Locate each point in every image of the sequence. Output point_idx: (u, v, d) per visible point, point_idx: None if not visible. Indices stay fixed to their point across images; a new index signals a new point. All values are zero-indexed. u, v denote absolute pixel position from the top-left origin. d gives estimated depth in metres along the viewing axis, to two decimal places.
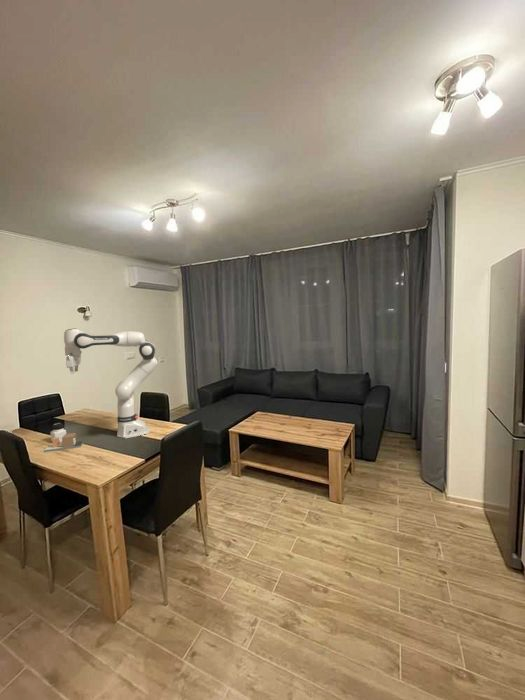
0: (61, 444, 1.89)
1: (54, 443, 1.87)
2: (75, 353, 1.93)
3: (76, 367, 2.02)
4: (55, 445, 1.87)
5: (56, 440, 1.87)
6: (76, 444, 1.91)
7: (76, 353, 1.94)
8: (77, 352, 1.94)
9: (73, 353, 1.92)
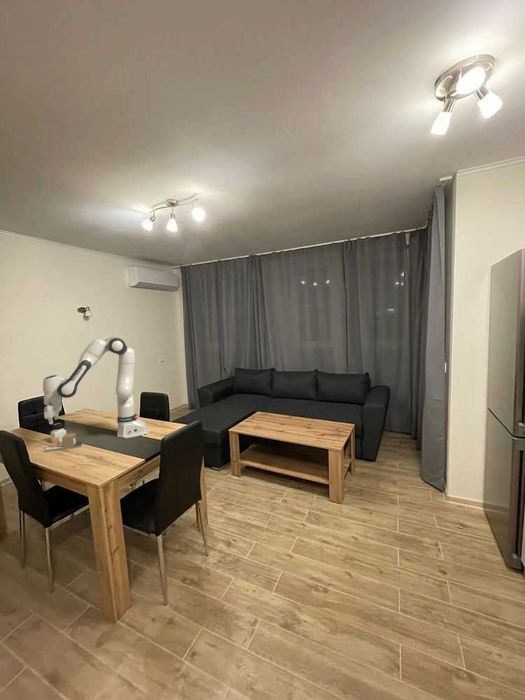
0: (61, 444, 1.89)
1: (54, 443, 1.87)
2: (54, 402, 1.83)
3: (56, 415, 1.92)
4: (55, 445, 1.87)
5: (56, 440, 1.87)
6: (76, 444, 1.91)
7: (56, 402, 1.83)
8: (57, 401, 1.84)
9: (52, 402, 1.82)
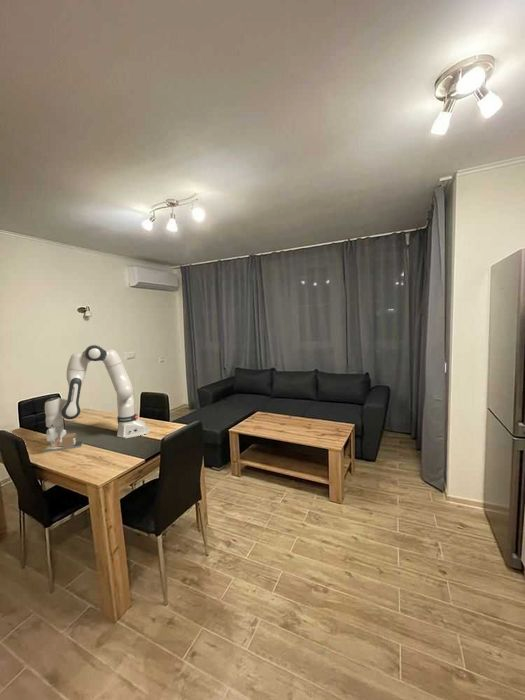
0: (61, 444, 1.89)
1: None
2: (56, 424, 1.84)
3: (58, 436, 1.93)
4: (55, 445, 1.87)
5: (56, 440, 1.87)
6: (76, 444, 1.91)
7: (57, 424, 1.85)
8: (59, 423, 1.85)
9: (54, 425, 1.84)
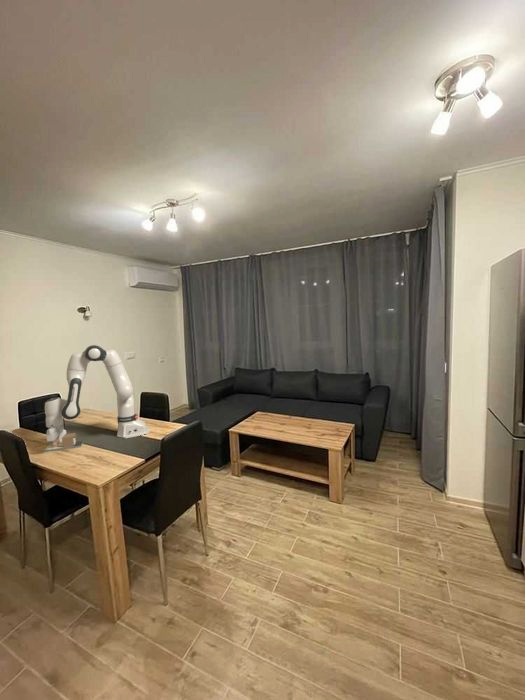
0: (61, 444, 1.89)
1: None
2: (56, 424, 1.84)
3: None
4: (55, 445, 1.87)
5: (56, 440, 1.87)
6: (76, 444, 1.91)
7: (57, 424, 1.85)
8: (59, 423, 1.85)
9: (54, 425, 1.84)
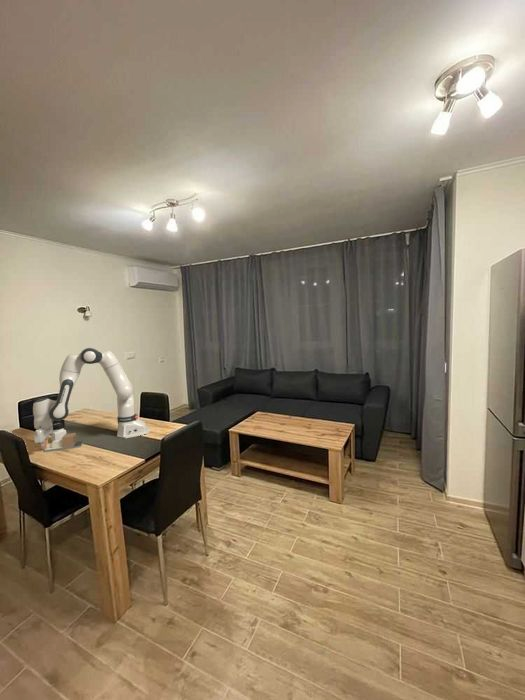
0: (50, 445, 1.86)
1: None
2: (45, 425, 1.82)
3: (46, 438, 1.89)
4: (44, 447, 1.85)
5: (45, 441, 1.85)
6: (76, 444, 1.91)
7: (46, 425, 1.83)
8: (47, 424, 1.83)
9: (42, 426, 1.81)
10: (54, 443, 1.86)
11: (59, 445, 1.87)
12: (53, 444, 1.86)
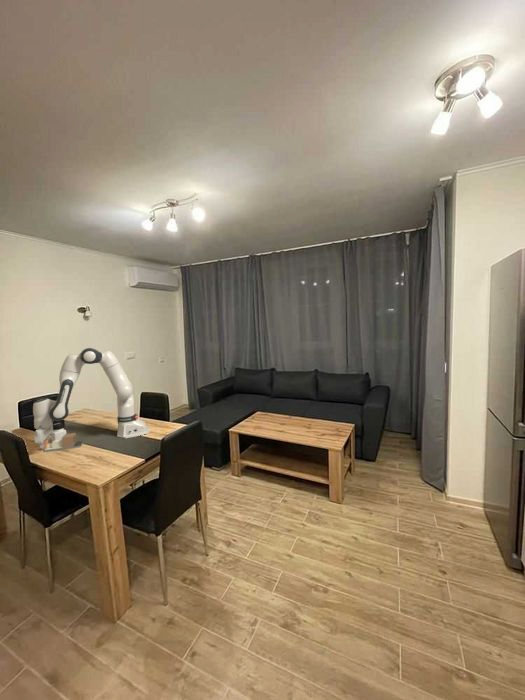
0: (50, 445, 1.86)
1: None
2: (45, 426, 1.82)
3: (47, 437, 1.91)
4: (43, 447, 1.85)
5: (45, 441, 1.85)
6: (76, 444, 1.91)
7: (46, 425, 1.83)
8: (47, 424, 1.83)
9: (43, 426, 1.81)
10: (54, 443, 1.86)
11: (59, 445, 1.87)
12: (53, 444, 1.86)
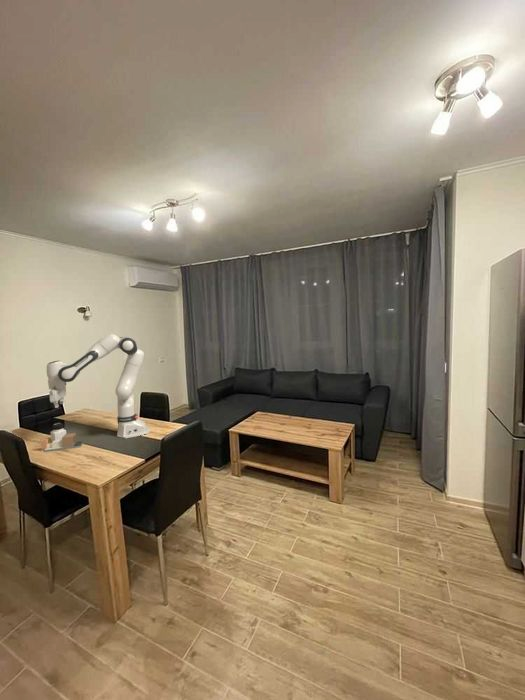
0: (50, 445, 1.86)
1: (42, 444, 1.85)
2: (59, 386, 1.88)
3: (61, 399, 1.97)
4: (43, 447, 1.85)
5: (45, 441, 1.85)
6: (76, 444, 1.91)
7: (60, 386, 1.88)
8: (61, 385, 1.89)
9: (57, 386, 1.87)
10: (54, 443, 1.86)
11: (59, 445, 1.87)
12: (53, 444, 1.86)
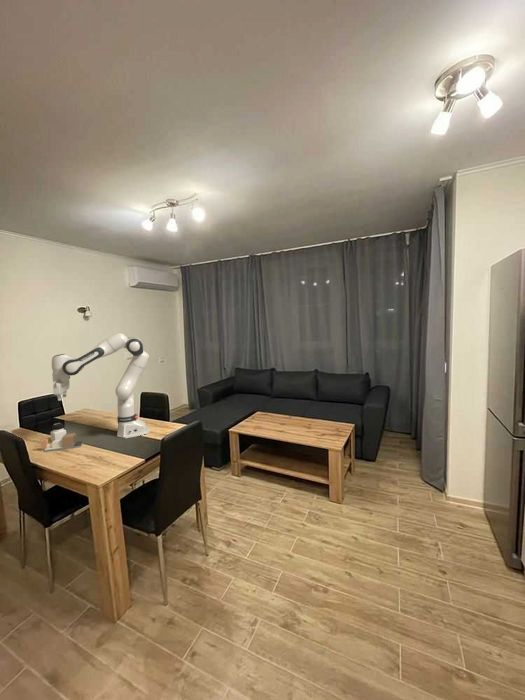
0: (50, 445, 1.86)
1: (42, 444, 1.85)
2: (63, 379, 1.90)
3: (64, 392, 1.98)
4: (43, 447, 1.85)
5: (45, 441, 1.85)
6: (76, 444, 1.91)
7: (64, 379, 1.90)
8: (65, 378, 1.91)
9: (61, 379, 1.89)
10: (54, 443, 1.86)
11: (59, 445, 1.87)
12: (53, 444, 1.86)
